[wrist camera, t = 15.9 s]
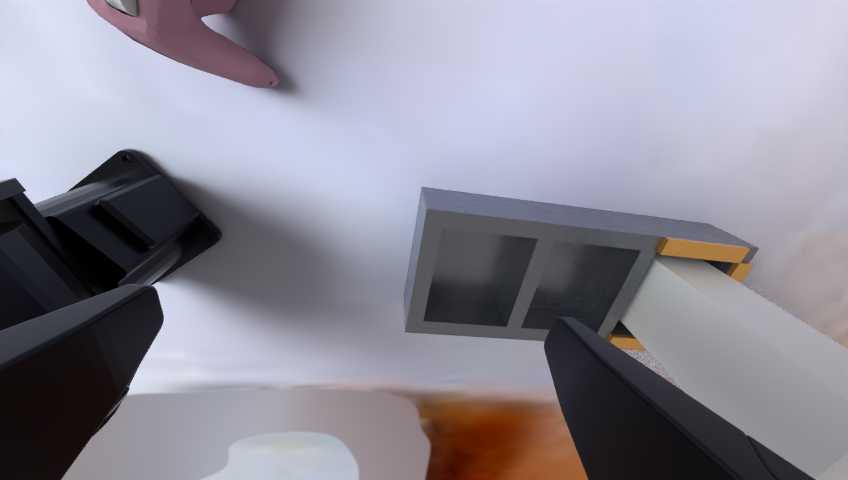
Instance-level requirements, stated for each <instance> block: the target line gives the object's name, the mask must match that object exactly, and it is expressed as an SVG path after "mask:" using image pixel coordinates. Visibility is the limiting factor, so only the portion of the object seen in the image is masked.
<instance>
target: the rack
mask: <svg viewBox="0 0 848 480" xmlns="http://www.w3.org/2000/svg"><path fill="white" fill-rule="evenodd" d="M758 249H759V248H758V247H755V246H753V245H751V244H749V243H747V242H745V241H743V240H741V239H739V238H737V237H735V236H733V235H731V234H729V233H727V232H725V231H723V230H720V229H718V228H716V227H714V226H712V225H710V224H705V223H697V222H690V221H682V220H674V219H666V218H658V217H651V216H643V215H635V214H627V213H620V212H612V211H604V210H596V209H589V208H581V207H573V206H565V205H557V204H550V203H542V202H534V201H526V200H519V199H511V198H503V197H495V196H487V195H480V194H472V193H464V192H456V191H449V190H441V189H433V188H425V187H422V189H421V195H420V202H419V208H418V214H417V220H416V226H415V233H414V239H413V245H412V251H411V257H410V264H409V270H408V276H407V282H406V288H405V295H404V312H405V332H410V333H425V334H441V335H457V336H473V337H489V338H505V339H521V340H536V341H545V339H546V337H547V335H548V332H549V330H550V328H551V326H552V323H553V321H554V320H555V319H556V318H557V317H571V318H574V319H576V320H578V321H579V322H581V323H582V324H584V325H585V326H587V327H588V328H590V329H591V330H593V331H594V332H596V333H597V334H599V335H600V336H602V337H603V338H605V339H606V340H607V341H609V342H610V343H612V344H613V345H615V346H616V347H618V348H619V349H630V350H646V349H645V347H644V346H643V345H642V344H641V343H640V342H639V341H638V340H637V339H636V337H635V336H634V335H633V334H632V333H631V332H630V331H629V330H628V329H627V328H626V326H625V325H624V324H623V323H622V322H621V321H620V320H619V318H620V316H621V315H622V313H623V311H624V309H625V308H626V306H627V304H628V302H629V300H630V299H631V297H632V295H633V293H634V291H635V290H636V288H637V286H638V284H639V283H640V281H641V279H642V277H643V275H644V274H645V272H646V270H647V268H648V267H649V265H650V263H651V261H652V259H653V258H654V256H655V254H656V252H657V253H659V254H660V255H669V256H678V257H687V258H696V259H702V260H703V261H705V262H707V263H708V264H710V265H712V266H713V267H715V268H716V269H718V270H720V271H721V272H723V273H725V274H726V275H728V276H730V277H731V278H733V279H734V280H736V281H738V282H739V283H741V282H742V280H743V279H744V278H745V276H746V275H747V273H748V272H749V271H750V269H751V268H752V267H753V264H751V263H749V262H750V260H751V259H752V257H753V256H754V255H755V253H756V252H757V251H758ZM646 351H647V350H646Z"/></svg>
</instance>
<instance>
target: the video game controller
mask: <svg viewBox="0 0 848 480" xmlns="http://www.w3.org/2000/svg"><path fill="white" fill-rule="evenodd" d="M86 1H87V2H88V4H89V5H90V6H91V7H92V8H93V9H94V11H95V12H96V13H97V14H98V15H99V16H101V17H102V18H103V19H105V20H106V21H108V22H109V23H110V24H112V25H113V26H114V27H116V28H117V29H119V30H120V31H121V32H123V33H124V34H125V35H127V36H128V37H130V38H131V39H132V40H134V41H136V42H138V43H140V44H142V45H144V46H146V47H148V48H150V49H152V50H154V51H156V52H157V53H159V54H162V55H164V56H166V57H168V58H171V59H173V60H175V61H177V62H180V63H183V64H185V65H188V66H191V67H193V68H196V69H199V70H202V71H205V72H208V73H211V74H214V75H217V76H220V77H223V78H227V79H230V80H233V81H236V82H239V83H242V84H245V85H248V86H253V87H259V88H270V87H275V86H276V85H277V83H278V78H277V76H276V74H275V73H274V72H273V71H272V70H271V69H270V68H269V67H268V66H267V65H265V64H264V63H263V62H262V61H261V60H259V59H258V58H257V57H255V56H254V55H253V54H251V53H250V52H248V51H246V50H245V49H243V48H242V47H240V46H239V45H237V44H235V43H234V42H232V41H231V40H229V39H228V38H226V37H224V36H223V35H221V34H219V33H217V32H215V31H213V30H212V29H210V28H209V27H208V26H207V25H205V24H204V23H203V21H202V20H201V18H202V17H204V16H208V15H214V14H222V13H225V12H228V11H229V10H231V9H232V7H233V6H234V4H235V2H236V0H86Z"/></svg>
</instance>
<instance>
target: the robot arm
mask: <svg viewBox="0 0 848 480" xmlns="http://www.w3.org/2000/svg"><path fill="white" fill-rule="evenodd" d="M127 156H129V157H130V158H131V159H132V162H130V161H129V160H128V159H127ZM24 191H26V190H25V189H24V188H23V186H22V185H21V184H20V183H19V182H18V180H17V179H16V178H12V179H8V180H4V181H0V480H61V479H62V478H63V476H64V475H65V473H66V472H67V471H68V469H69V468H70V466H71V465H72V464H73V462H74V461H75V460H76V458H77V457H78V455H79V454H80V453H81V451H82V450H83V448H84V447H85V446H86V444H87V443H88V441H89V440H90V439H91V437H92V436H94V435H95V434H96V433H97V432H98V431H99V430H100V429H101V428H102V427H103V426H104V425H105V424H106V423H107V422H108V421H109V419H110V418H111V417H112V416H113V415H114V413H115V412H116V410H117V409H118V407H119V406H120V404H121V402H122V400H123V399H124V398H125V397H126V395H127V393H128V391H129V385H130V383H131V381H132V379H133V377H134V375H135V373H136V371H137V369H138V367H139V365H140V363H141V361H142V360H143V358H144V356H145V355H146V353H147V351H148V349H149V348H150V346H151V344H152V343H153V341H154V339H155V337H156V336H157V334H158V332H159V331H160V329H161V327H162V324H163V320H164V316H163V311H162V308H161V304H160V300H159V297H158V293H157V290H156V289H155V287H153V286H151V285H153V284H155V283H156V282H158V281H160V280H161V279H163V278H164V277H166V276H167V275H169V274H170V273H172V272H173V271H175V270H176V269H178V268H179V267H181V266H182V265H184V264H185V263H187V262H188V261H190V260H192V259H193V258H195V257H196V256H198V255H199V254H201V253H202V252H204V251H205V250H207V249H208V248H210V247H211V246H213V245H214V244H216V243H217V242H218V241H219V240H220V239H221V238H222V233H221V232H220V230H219V229H218V228H217V227H216V226H215V225H213V224H212V223H211V222H210V221H209V220H208V219H207V218H206V217H205V216H204V215H203V214H202V213H201V212H200V211H199V210H198V209H197V208H196V207H195V206H194V205H193V204H192V203H191V202H190V201H189V200H188V199H187V198H186V197H184V196H183V195H182V194H181V193H180V192H179V191H178V190H177V189H176V188H175V187H174V186H173V185H172V184H171V183H170V182H169V181H168V180H167V179H166V178H165V177H163V176H162V175H161V174H160V173H159V172H158V171H157V170H156V169H155V168H154V167H153V166H152V165H150V164H149V163H148V162H147V161H146V160H145V159H144V158H143V157H142V156H141V155H140V154H139V153H138V152H136V151H135V150H132V149H125V150H121V151H119V152H117V153H116V154H115V155H113V156H112V157H111V158H110V159H108V160H107V161H106V162H104V163H103V164H102V165H101V166H99V167H98V168H97V169H96V170H94V171H93V172H92V173H90V174H89V175H88V176H87V177H85V178H84V179H83V180H82V181H80V182H79V183H78V184H76V185H75V186H74V187H73V188H71V189H70V190H69V191H68V192H66V193H63V194H61V195H58V196H55V197H52V198H50V199H47V200H44V201H42V202H39V203H36V204H33V203H32V202H31V201H30V200H29V199H28V197H27V196H26V195H25V194H24V193H23V192H24ZM209 233H211V234H212V235H214V238H213V237H211V236H210V235H209ZM544 350H545V354H546V357H547V361H548V364H549V368H550V372H551V375H552V379H553V382H554V386H555V389H556V393H557V396H558V400H559V403H560V406H561V409H562V412H563V415H564V418H565V421H566V423H567V426H568V428H569V431H570V434H571V436H572V439H573V441H574V444H575V446H576V449H577V452H578V454H579V457H580V459H581V462H582V464H583V467H584V470H585V472H586V475H587V477H588V480H816V479H814V478H813V477H811V476H809V475H808V474H806V473H805V472H803V471H802V470H800V469H799V468H797V467H796V466H794V465H793V464H791V463H790V462H788V461H787V460H785V459H784V458H782V457H781V456H779V455H778V454H776V453H774V452H773V451H771V450H770V449H769V448H767V447H766V446H764V445H763V444H761V443H760V442H758V441H757V440H755V439H754V438H752V437H751V436H749V435H745V433H744V432H743V431H742V430H740V429H739V428H737V427H736V426H734V425H733V424H731V423H730V422H728V421H727V420H725V419H724V418H722V417H721V416H719V415H718V414H716V413H715V412H713V411H712V410H710V409H709V408H707V407H706V406H704V405H703V404H701V403H700V402H698V401H697V400H695V399H694V398H692V397H691V396H689V395H688V394H686V393H685V392H683V391H682V390H680V389H679V388H678V387H676V386H675V385H673V384H672V383H670V382H669V381H667V380H666V379H664V378H663V377H661V376H660V375H658V374H657V373H655V372H654V371H652V370H651V369H649V368H648V367H646V366H645V365H643V364H642V363H640V362H639V361H637V360H636V359H634V358H633V357H631V356H630V355H628V354H627V353H625V352H624V351H622V350H621V349H619V348H618V347H616V346H615V345H613V344H612V343H610V342H609V341H607V340H606V339H605V338H603V337H602V336H600V335H599V334H597V333H596V332H594V331H593V330H591V329H590V328H588V327H587V326H585V325H584V324H582V323H581V322H579V321H578V320H576V319H574V318H571V317H557V318H556V319H555V320H554V321H553V323H552V326H551V328H550V330H549V332H548V335H547V337H546V339H545V343H544Z"/></svg>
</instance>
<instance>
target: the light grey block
mask: <svg viewBox="0 0 848 480" xmlns="http://www.w3.org/2000/svg"><path fill="white" fill-rule="evenodd" d="M619 320H620V321H621V322H622V323H623V324H624V325H625V326H626V328H627V329H628V330H629V331H630V332H631V333H632V334H633V335H634V336H635V337H636V339H637V340H638V341H639V342H640V343H641V344H642V345H643V346H644V347H645V349H646V350H647V351H648V352H649V353H650V354H651V355H652V356H653V357H654V359H655V360H656V361H657V362H658V363H659V364H660V365H661V366H662V367H663V369H664V370H665V371H666V372H667V373H668V374H669V375H670V376H671V377H672V379H673V380H674V381H675V382H676V383H677V384H678V385H679V386H680V387H681V389H682V390H683V391H684V392H685V393H686V394H688V395H689V396H691V397H692V398H694V399H695V400H697V401H698V402H700V403H701V404H703V405H704V406H706V407H707V408H709V409H710V410H712V411H713V412H715V413H716V414H718V415H719V416H721V417H722V418H724V419H725V420H727V421H728V422H730V423H731V424H733V425H734V426H736V427H737V428H739V429H740V430H742V431H743V432H744V433H745V435H749V436H751V437H752V438H754V439H755V440H757V441H758V442H760V443H761V444H763V445H764V446H766V447H767V448H769V449H770V450H771V451H773V452H774V453H776V454H778V455H779V456H781V457H782V458H784V459H785V460H787V461H788V462H790V463H791V464H793V465H794V466H796V467H797V468H799V469H800V470H802V471H803V472H805V473H806V474H808V475H809V476H811V477H813V478H814V479H816V480H848V349H847V348H845V347H844V346H842V345H840V344H839V343H837V342H835V341H834V340H832V339H831V338H829V337H827V336H826V335H824V334H822V333H821V332H819V331H818V330H816V329H814V328H813V327H811V326H809V325H808V324H806V323H804V322H803V321H801V320H800V319H798V318H796V317H795V316H793V315H791V314H790V313H788V312H787V311H785V310H783V309H782V308H780V307H778V306H777V305H775V304H774V303H772V302H770V301H769V300H767V299H765V298H764V297H762V296H760V295H759V294H757V293H756V292H754V291H752V290H751V289H749V288H747V287H746V286H744V285H743V284H741V283H739V282H738V281H736V280H734V279H733V278H731V277H730V276H728V275H726V274H725V273H723V272H721V271H720V270H718V269H716V268H715V267H713V266H712V265H710V264H708V263H707V262H705V261H703V260H702V259H696V258H687V257H678V256H669V255H660V254H659V253H657V252H656V254H655V256H654V258H653V259H652V261H651V263H650V265H649V267H648V268H647V270H646V272H645V274H644V275H643V277H642V279H641V281H640V283H639V284H638V286H637V288H636V290H635V291H634V293H633V295H632V297H631V299H630V300H629V302H628V304H627V306H626V308H625V309H624V311H623V313H622V315H621V316H620V318H619Z"/></svg>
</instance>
